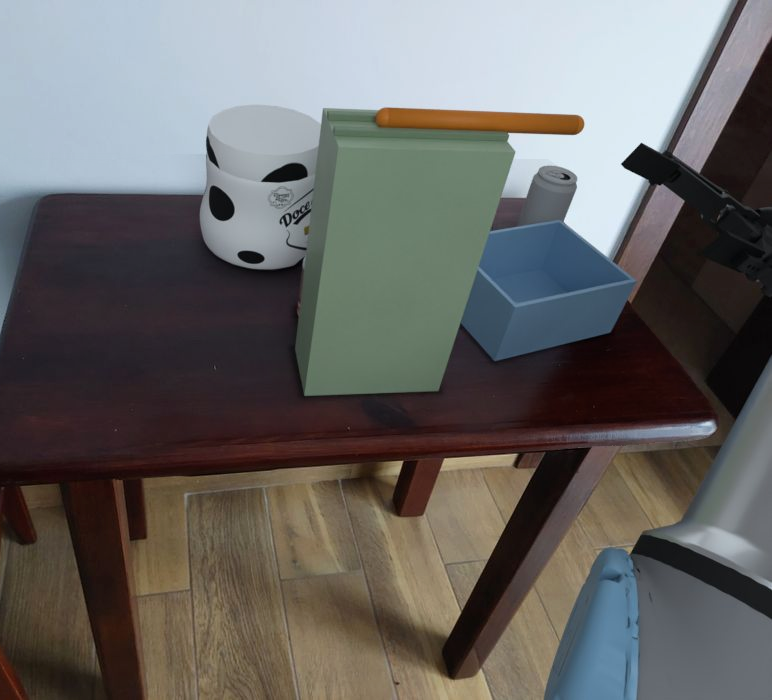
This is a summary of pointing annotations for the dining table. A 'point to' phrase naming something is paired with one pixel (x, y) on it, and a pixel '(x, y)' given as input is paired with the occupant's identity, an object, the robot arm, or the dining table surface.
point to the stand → (392, 251)
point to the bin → (542, 290)
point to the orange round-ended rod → (480, 121)
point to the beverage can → (548, 196)
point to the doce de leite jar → (259, 186)
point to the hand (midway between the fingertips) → (671, 196)
